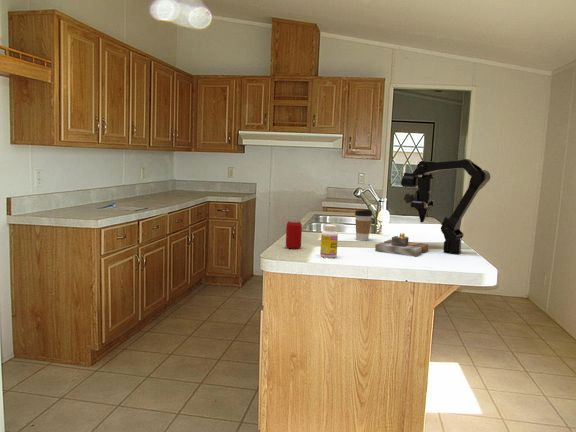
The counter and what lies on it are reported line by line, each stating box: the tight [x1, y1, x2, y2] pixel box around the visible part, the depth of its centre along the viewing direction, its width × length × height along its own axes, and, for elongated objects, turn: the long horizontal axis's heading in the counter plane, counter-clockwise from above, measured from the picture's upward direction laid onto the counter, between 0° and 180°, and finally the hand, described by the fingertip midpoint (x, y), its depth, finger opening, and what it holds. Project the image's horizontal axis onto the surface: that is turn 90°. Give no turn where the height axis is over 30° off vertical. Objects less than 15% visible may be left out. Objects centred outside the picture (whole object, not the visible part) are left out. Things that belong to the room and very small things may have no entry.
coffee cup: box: [354, 209, 373, 242], centre depth 244 cm, size 8×8×15 cm
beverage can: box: [285, 219, 303, 250], centre depth 215 cm, size 7×7×12 cm
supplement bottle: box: [319, 223, 339, 259], centre depth 198 cm, size 7×7×13 cm
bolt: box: [397, 232, 407, 238], centre depth 216 cm, size 3×7×5 cm, turn 148°
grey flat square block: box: [374, 235, 429, 257], centre depth 217 cm, size 18×18×6 cm
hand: (421, 222), depth 226 cm, fingers closed
